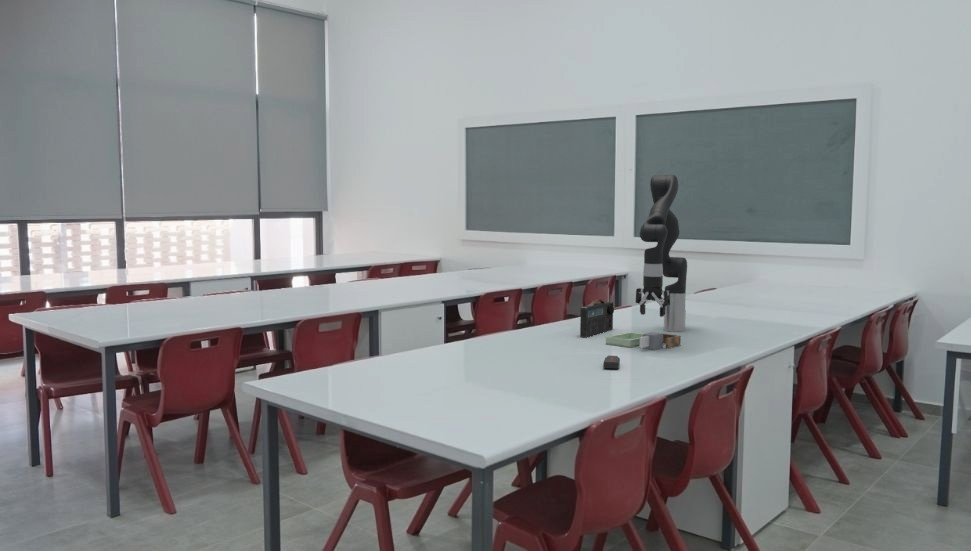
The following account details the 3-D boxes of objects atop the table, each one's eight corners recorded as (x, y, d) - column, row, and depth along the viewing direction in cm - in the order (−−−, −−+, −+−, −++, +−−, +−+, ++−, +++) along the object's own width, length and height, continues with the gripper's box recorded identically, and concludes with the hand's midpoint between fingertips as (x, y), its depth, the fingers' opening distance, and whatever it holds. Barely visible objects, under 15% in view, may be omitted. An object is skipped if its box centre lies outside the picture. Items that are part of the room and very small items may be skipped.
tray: (629, 339, 337) (629, 332, 337) (653, 342, 329) (653, 335, 329) (605, 344, 324) (605, 337, 324) (630, 347, 316) (630, 340, 316)
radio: (588, 338, 340) (589, 291, 338) (580, 337, 343) (580, 291, 341) (615, 331, 361) (615, 287, 359) (606, 330, 363) (607, 286, 361)
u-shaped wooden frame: (659, 342, 328) (660, 333, 328) (680, 345, 322) (680, 335, 322) (647, 345, 321) (647, 336, 321) (667, 348, 315) (668, 338, 314)
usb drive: (603, 368, 277) (603, 360, 277) (605, 361, 289) (605, 354, 289) (618, 368, 276) (618, 361, 276) (620, 362, 288) (620, 355, 288)
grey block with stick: (651, 346, 319) (652, 332, 319) (662, 348, 316) (663, 333, 315) (635, 350, 310) (635, 335, 310) (646, 352, 307) (646, 336, 306)
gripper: (673, 275, 310) (673, 316, 312) (642, 273, 320) (641, 312, 322) (664, 276, 305) (663, 318, 306) (632, 274, 315) (631, 314, 316)
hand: (652, 315), depth 314 cm, fingers open, 8 cm apart
